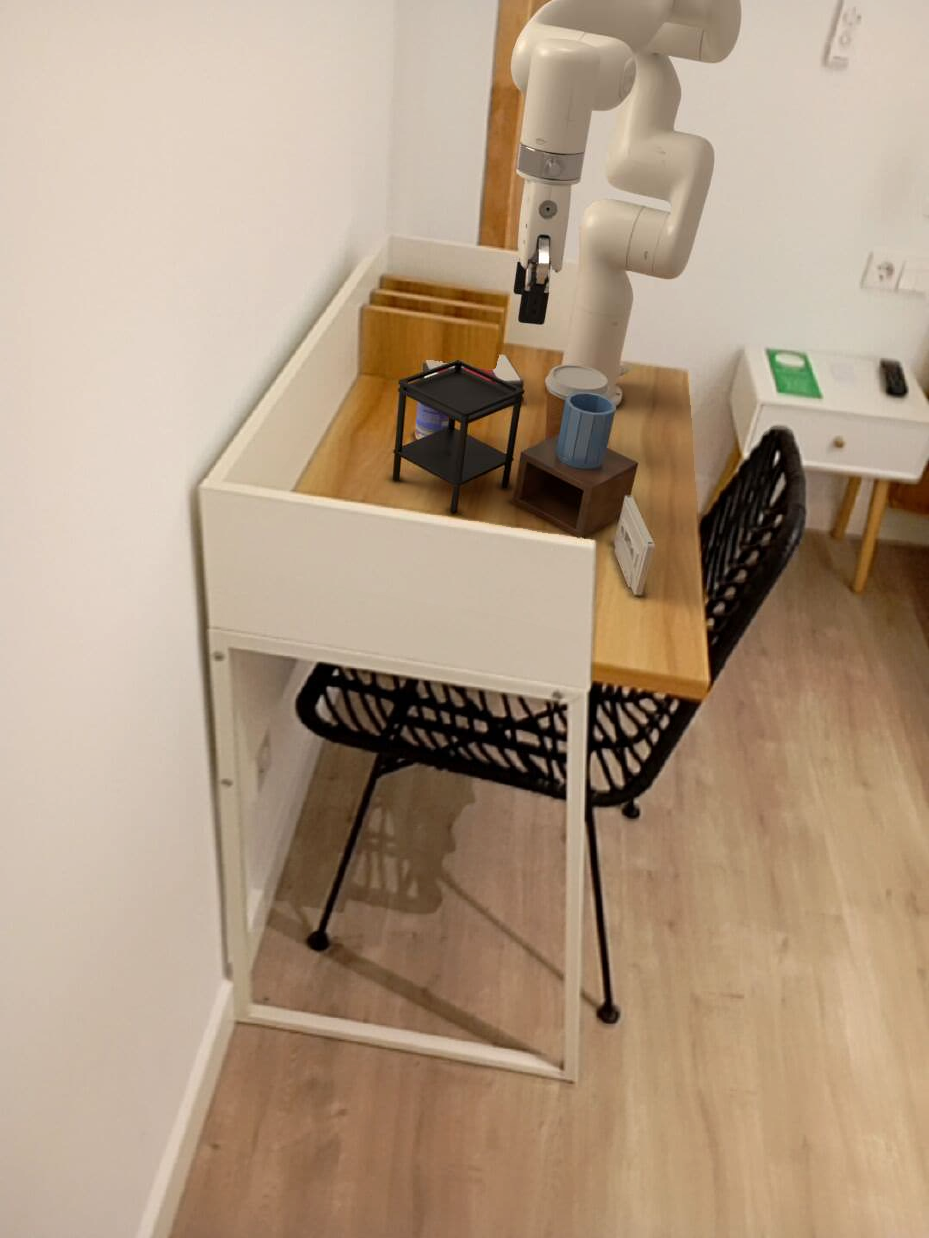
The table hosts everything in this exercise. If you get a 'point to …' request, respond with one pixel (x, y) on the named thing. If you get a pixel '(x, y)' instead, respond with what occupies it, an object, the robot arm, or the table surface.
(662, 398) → the table surface
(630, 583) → the cassette
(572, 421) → the blue cup
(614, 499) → the shelf
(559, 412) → the disposable coffee cup
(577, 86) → the robot arm
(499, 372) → the calculator
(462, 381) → the tray
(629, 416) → the table surface
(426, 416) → the pill bottle
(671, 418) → the table surface
